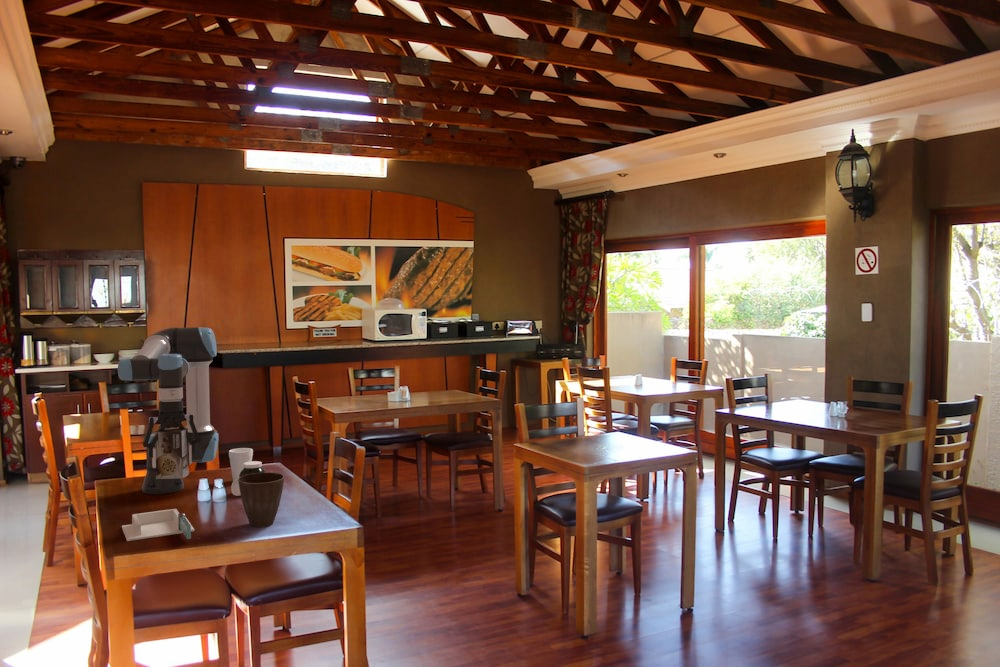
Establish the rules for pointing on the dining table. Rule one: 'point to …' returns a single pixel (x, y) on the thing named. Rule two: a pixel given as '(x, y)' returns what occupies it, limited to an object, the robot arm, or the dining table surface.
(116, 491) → the dining table surface
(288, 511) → the dining table surface
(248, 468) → the spread jar
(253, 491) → the plant pot
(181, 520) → the ball knob lever
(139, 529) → the white shallow tray
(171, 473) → the coffee box
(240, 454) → the foam cup
